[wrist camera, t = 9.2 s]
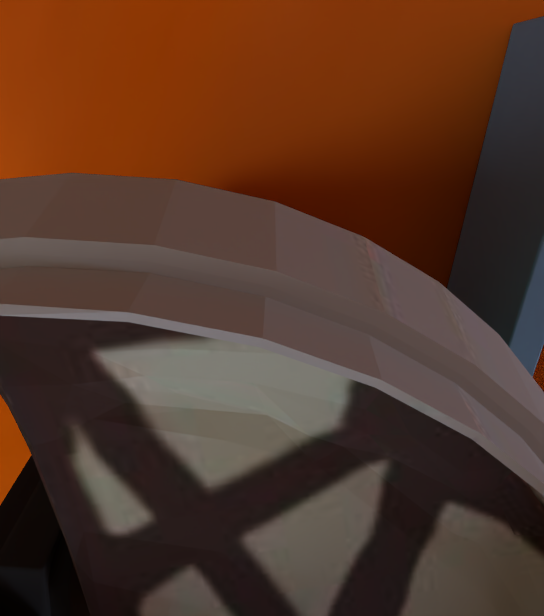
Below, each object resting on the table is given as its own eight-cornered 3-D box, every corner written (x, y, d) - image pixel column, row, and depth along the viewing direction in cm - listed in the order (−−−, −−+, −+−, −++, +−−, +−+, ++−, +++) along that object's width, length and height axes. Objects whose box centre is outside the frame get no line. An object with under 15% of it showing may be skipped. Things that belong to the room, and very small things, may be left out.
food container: (425, 496, 17) (643, 988, 8) (237, 526, 17) (223, 1045, 8) (398, 87, 12) (876, 47, 3) (141, 132, 12) (-189, 232, 3)
